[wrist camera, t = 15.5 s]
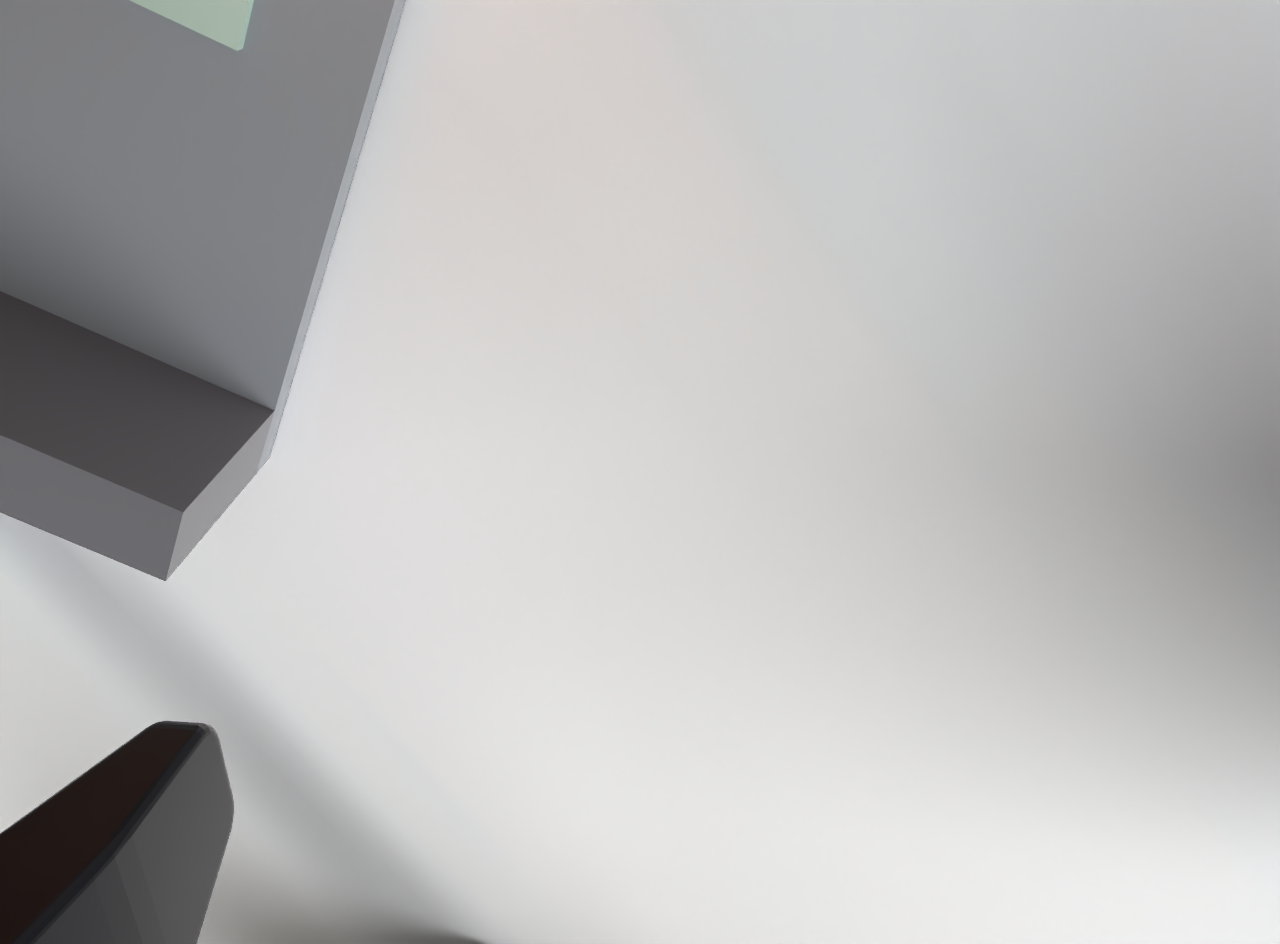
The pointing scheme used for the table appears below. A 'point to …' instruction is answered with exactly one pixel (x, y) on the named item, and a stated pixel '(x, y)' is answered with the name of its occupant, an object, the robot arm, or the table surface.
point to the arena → (165, 248)
